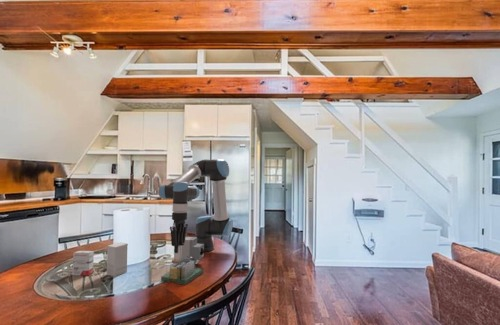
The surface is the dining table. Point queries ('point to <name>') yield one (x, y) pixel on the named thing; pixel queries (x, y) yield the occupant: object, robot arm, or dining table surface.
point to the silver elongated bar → (182, 260)
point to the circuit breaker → (192, 249)
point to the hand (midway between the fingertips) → (177, 258)
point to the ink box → (83, 263)
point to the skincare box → (117, 259)
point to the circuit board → (182, 272)
